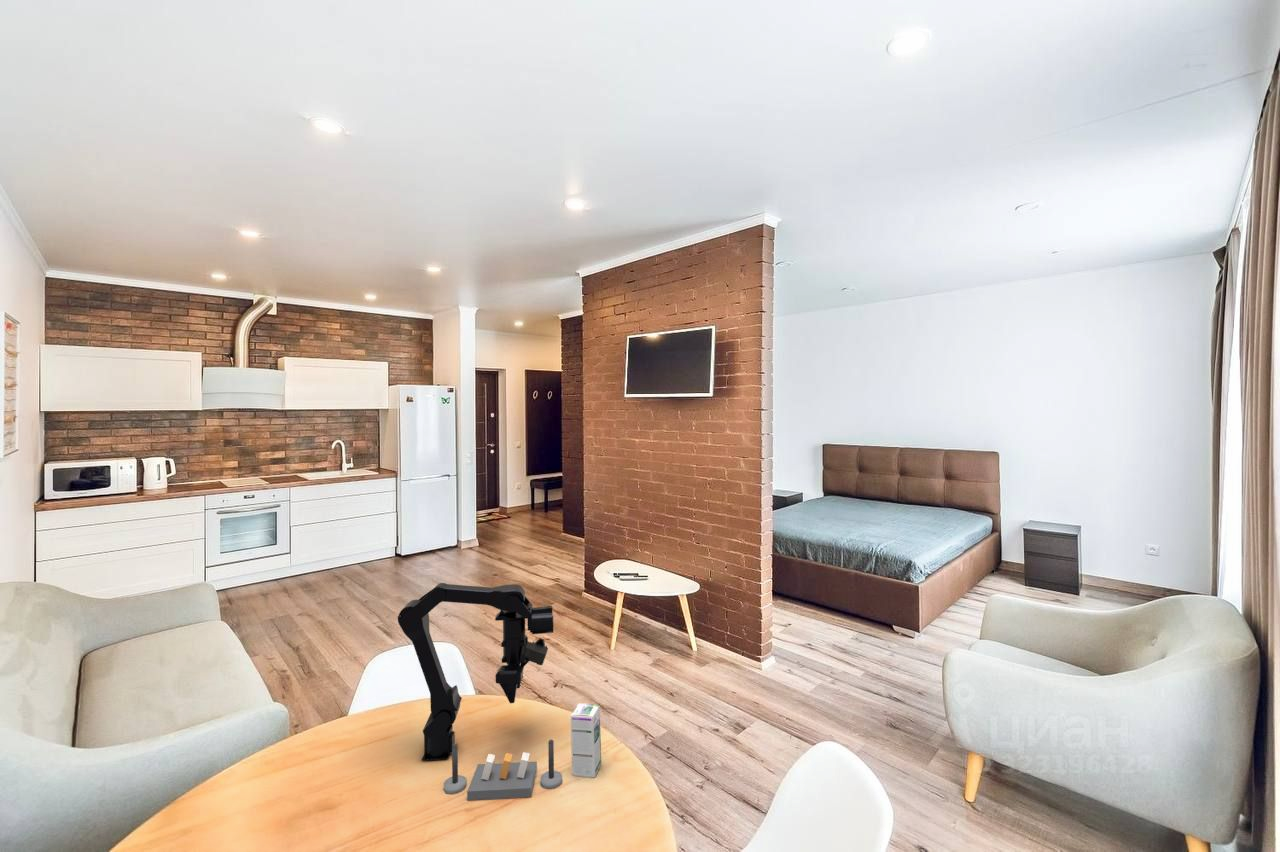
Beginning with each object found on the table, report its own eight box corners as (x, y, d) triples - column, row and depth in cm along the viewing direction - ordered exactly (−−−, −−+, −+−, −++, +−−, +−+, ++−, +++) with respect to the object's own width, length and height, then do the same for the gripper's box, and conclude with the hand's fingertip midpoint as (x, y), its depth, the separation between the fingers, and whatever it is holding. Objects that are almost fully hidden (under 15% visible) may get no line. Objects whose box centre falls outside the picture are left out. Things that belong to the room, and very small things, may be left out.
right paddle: (516, 776, 124) (521, 759, 124) (518, 768, 127) (523, 752, 127) (523, 778, 124) (528, 761, 124) (525, 770, 127) (529, 753, 127)
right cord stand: (539, 789, 123) (538, 746, 124) (541, 776, 128) (541, 734, 129) (561, 788, 124) (560, 745, 124) (563, 775, 129) (562, 733, 129)
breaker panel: (467, 800, 120) (467, 791, 120) (478, 772, 130) (477, 764, 130) (531, 797, 121) (530, 788, 121) (536, 769, 131) (536, 761, 131)
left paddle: (481, 778, 124) (485, 761, 124) (484, 770, 127) (488, 753, 127) (488, 780, 124) (492, 762, 124) (491, 772, 127) (495, 755, 127)
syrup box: (595, 778, 127) (594, 716, 127) (571, 775, 128) (570, 713, 129) (601, 764, 133) (600, 704, 133) (578, 761, 134) (577, 702, 134)
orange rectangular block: (499, 777, 124) (503, 760, 124) (501, 769, 127) (505, 752, 127) (505, 779, 124) (510, 762, 124) (508, 771, 127) (512, 754, 127)
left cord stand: (440, 795, 122) (440, 751, 122) (447, 781, 127) (446, 738, 127) (463, 793, 122) (462, 750, 123) (468, 779, 127) (468, 737, 128)
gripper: (540, 647, 133) (541, 712, 133) (549, 621, 152) (550, 678, 151) (494, 649, 132) (495, 714, 132) (509, 623, 151) (509, 679, 151)
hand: (515, 695), depth 141 cm, fingers open, 8 cm apart
